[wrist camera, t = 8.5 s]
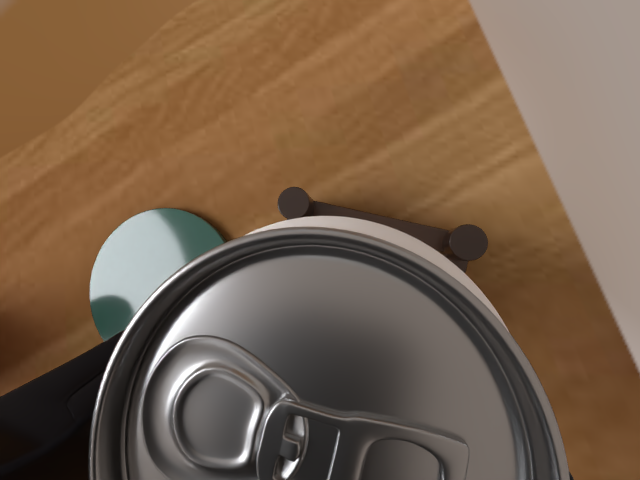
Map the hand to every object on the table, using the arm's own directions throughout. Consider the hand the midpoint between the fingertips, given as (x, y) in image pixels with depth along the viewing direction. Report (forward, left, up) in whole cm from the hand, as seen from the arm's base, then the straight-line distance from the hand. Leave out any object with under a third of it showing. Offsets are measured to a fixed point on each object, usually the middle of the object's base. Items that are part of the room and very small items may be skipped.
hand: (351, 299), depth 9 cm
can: (0, -1, -7) cm, 7 cm away
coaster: (-15, +1, -12) cm, 19 cm away
